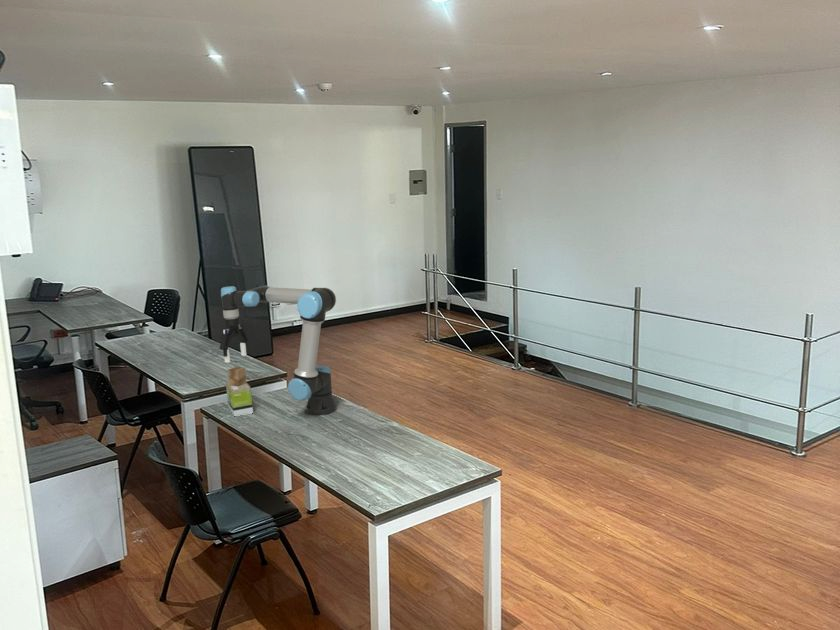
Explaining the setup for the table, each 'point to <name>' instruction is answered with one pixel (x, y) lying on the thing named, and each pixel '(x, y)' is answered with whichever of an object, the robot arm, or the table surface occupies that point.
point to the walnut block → (237, 376)
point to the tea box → (239, 399)
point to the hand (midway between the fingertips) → (235, 358)
